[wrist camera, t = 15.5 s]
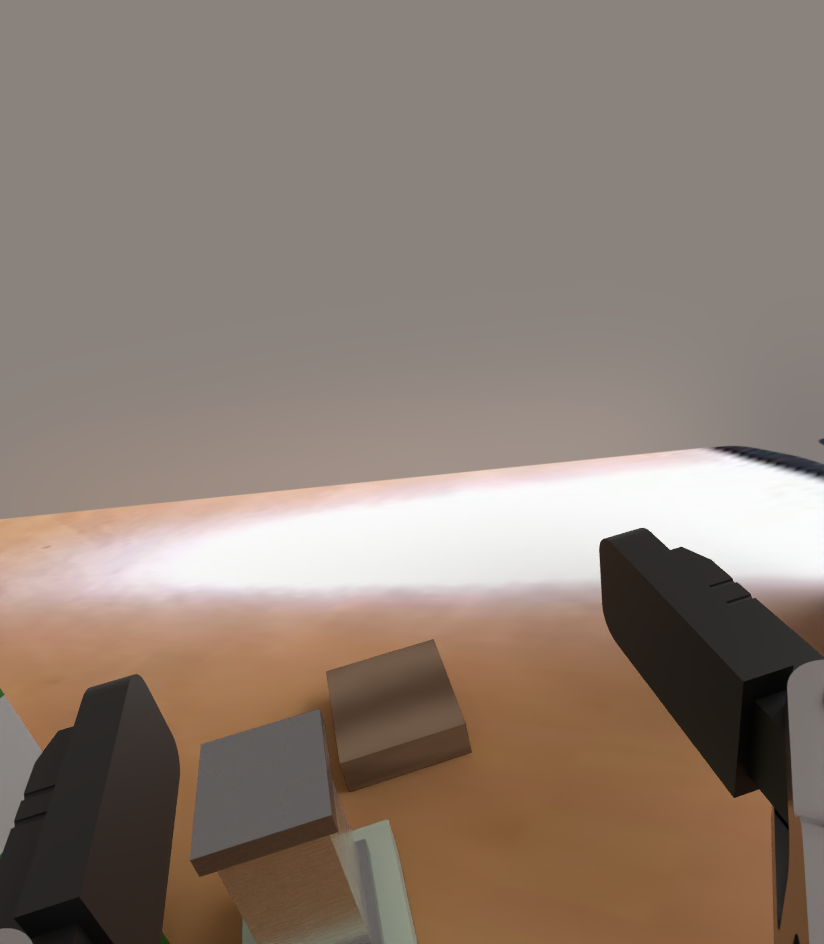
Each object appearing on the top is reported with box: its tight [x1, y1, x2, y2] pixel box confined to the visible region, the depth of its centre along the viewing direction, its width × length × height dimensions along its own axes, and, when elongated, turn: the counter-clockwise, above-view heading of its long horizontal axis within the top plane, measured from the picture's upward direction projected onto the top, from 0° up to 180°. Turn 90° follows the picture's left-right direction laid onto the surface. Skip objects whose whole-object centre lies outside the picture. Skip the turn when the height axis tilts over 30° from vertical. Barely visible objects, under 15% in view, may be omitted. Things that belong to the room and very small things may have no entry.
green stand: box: [242, 819, 417, 944], centre depth 36 cm, size 9×9×3 cm
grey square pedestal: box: [190, 709, 384, 944], centre depth 32 cm, size 6×6×12 cm
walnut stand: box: [326, 639, 471, 792], centre depth 49 cm, size 9×9×3 cm
